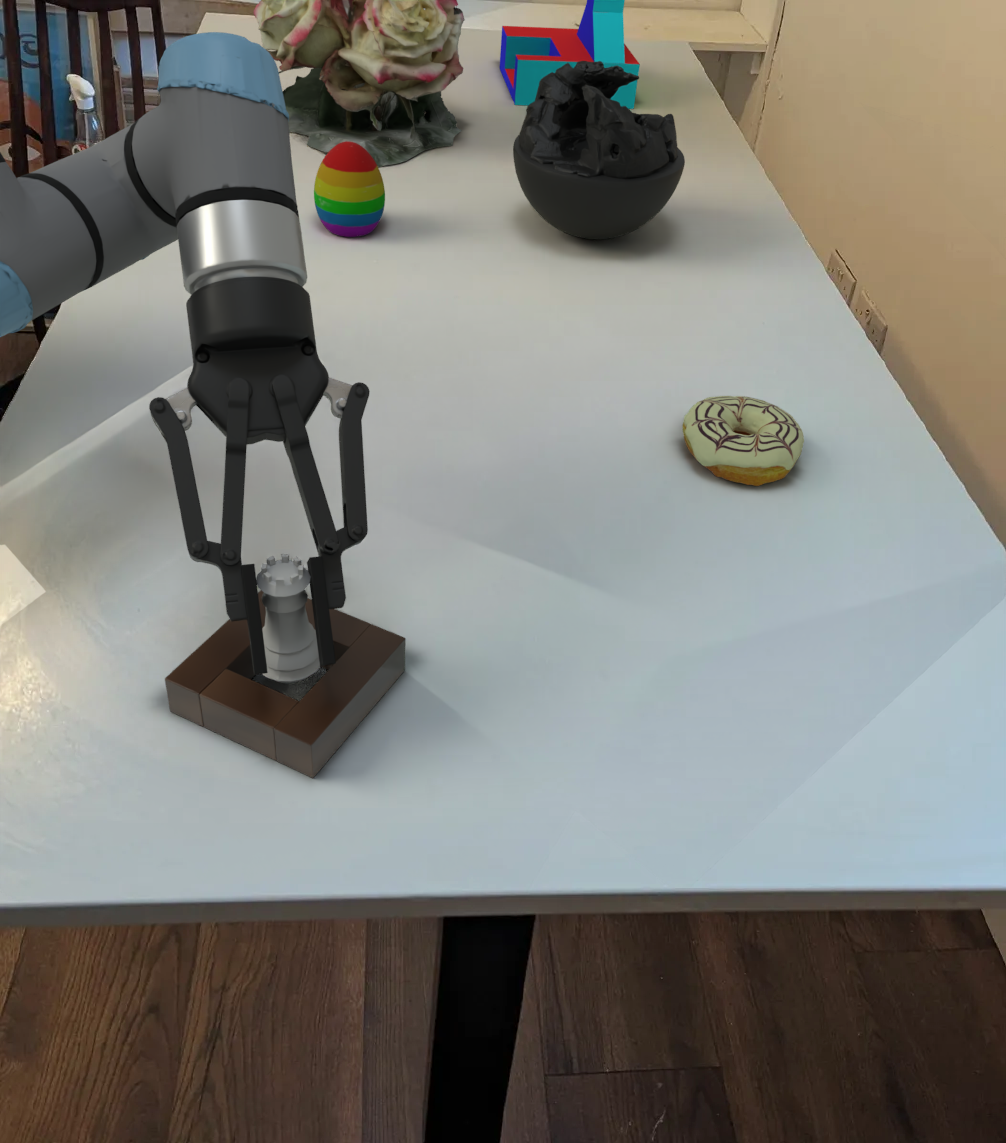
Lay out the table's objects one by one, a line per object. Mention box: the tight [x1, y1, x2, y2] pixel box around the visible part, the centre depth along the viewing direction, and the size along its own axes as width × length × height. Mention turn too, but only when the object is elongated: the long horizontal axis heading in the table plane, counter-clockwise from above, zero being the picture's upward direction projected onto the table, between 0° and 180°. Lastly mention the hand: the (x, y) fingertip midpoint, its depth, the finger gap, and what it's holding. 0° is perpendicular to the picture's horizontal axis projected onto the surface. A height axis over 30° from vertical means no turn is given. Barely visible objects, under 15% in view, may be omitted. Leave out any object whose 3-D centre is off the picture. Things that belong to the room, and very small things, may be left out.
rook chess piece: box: [256, 553, 321, 684], centre depth 70 cm, size 4×4×8 cm
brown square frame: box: [164, 590, 407, 779], centre depth 73 cm, size 11×11×3 cm
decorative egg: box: [313, 141, 386, 238], centre depth 130 cm, size 8×8×10 cm
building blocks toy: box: [499, 0, 641, 110], centre depth 178 cm, size 19×25×18 cm
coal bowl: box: [512, 61, 686, 240], centre depth 131 cm, size 20×20×19 cm
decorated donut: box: [681, 395, 805, 487], centre depth 99 cm, size 10×11×4 cm
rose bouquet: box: [253, 0, 466, 168], centre depth 149 cm, size 26×29×30 cm
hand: (294, 668), depth 68 cm, fingers closed on rook chess piece, 3 cm apart
